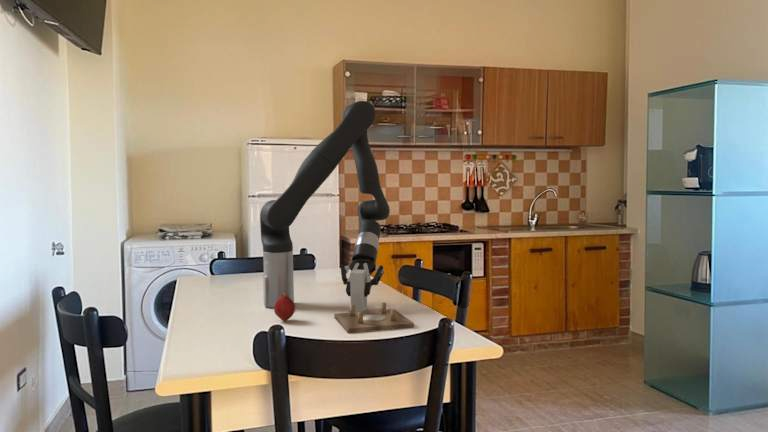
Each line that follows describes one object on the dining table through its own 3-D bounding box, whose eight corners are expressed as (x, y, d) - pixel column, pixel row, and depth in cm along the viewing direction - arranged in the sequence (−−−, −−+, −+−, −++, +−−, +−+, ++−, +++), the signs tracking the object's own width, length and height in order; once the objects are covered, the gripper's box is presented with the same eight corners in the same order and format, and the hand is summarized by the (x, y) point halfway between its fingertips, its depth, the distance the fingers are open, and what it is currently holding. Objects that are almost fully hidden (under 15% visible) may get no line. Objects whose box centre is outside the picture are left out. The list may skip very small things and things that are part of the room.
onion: (276, 318, 178) (276, 291, 177) (296, 318, 178) (296, 291, 177) (272, 323, 172) (271, 295, 172) (293, 323, 172) (292, 295, 172)
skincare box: (353, 307, 190) (353, 269, 190) (367, 308, 190) (366, 269, 189) (350, 312, 184) (349, 272, 184) (364, 312, 184) (363, 272, 183)
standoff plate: (348, 333, 161) (347, 317, 160) (334, 317, 178) (333, 303, 178) (413, 327, 166) (413, 311, 165) (394, 313, 183) (394, 299, 183)
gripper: (341, 242, 195) (331, 287, 184) (386, 242, 192) (378, 288, 181) (346, 256, 200) (336, 301, 189) (389, 257, 197) (382, 302, 186)
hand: (357, 294), depth 185 cm, fingers closed on skincare box, 4 cm apart
